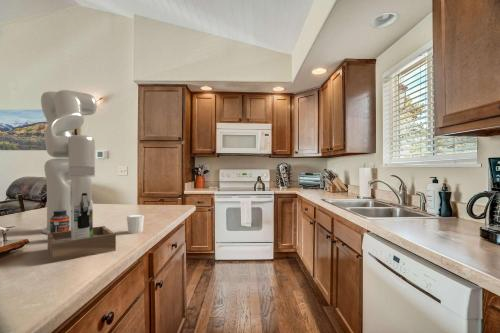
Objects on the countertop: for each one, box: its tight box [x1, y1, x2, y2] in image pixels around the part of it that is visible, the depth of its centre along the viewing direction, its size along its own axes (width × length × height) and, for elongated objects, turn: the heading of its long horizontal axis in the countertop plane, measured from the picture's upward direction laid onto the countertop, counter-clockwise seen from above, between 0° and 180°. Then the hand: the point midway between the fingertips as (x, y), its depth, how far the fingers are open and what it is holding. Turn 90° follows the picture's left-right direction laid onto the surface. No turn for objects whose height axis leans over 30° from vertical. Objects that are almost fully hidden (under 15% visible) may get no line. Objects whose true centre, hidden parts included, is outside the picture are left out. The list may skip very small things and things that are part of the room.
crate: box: [47, 225, 117, 263], centre depth 88 cm, size 16×17×6 cm
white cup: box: [126, 213, 145, 234], centre depth 113 cm, size 7×7×7 cm
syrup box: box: [71, 199, 94, 240], centre depth 88 cm, size 6×6×14 cm
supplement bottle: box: [50, 210, 69, 233], centre depth 100 cm, size 6×6×11 cm
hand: (81, 225), depth 88 cm, fingers closed on syrup box, 6 cm apart
